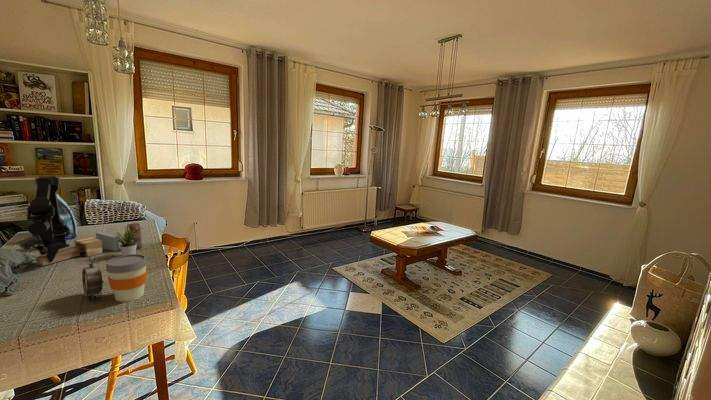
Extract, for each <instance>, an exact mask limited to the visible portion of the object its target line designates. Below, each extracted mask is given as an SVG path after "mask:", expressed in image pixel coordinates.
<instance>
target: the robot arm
mask: <svg viewBox="0 0 711 400" xmlns="http://www.w3.org/2000/svg"><path fill="white" fill-rule="evenodd" d="M34 183H35V184H34V185H35V186H36V191H35V197H34V198H33V199H32V200H31V201H30V203H29V205H28V206H27V212H26V213H27V216H26V219H27V221H32V223H30V224H29V226H28V228H27V230H28V233H30V234H31V236H29V237H26V238H24V239H21V240H19V241H18V242H17V245H18V246H19V247H20V248H21V249H22V250H26V251H27V250H29V249H31V248H32V249H35V250H37V251H38V253H39V255H44V254H46V255H47V258H48V260H49V262H52V261H53V260H54V258H55V256H56V254H57V252H58V251H59V250H63V249H66V247H67V248H68V247H70V246H71V245H70V244H68V243H67V238H66V236H68V235H70V230H69V227H68V226H67V225H66V224H65V221H64V220H63V219H61V218H60V213H59V206H58V200H57V191H58V190H59V189H60V186H61V185H62V184H61V183H62V182H61V178H60V177H58V176H57V175H45V176H44V175H40V176H39V177H35V178H34ZM65 232H66V233H65Z"/></svg>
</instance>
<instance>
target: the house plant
mask: <svg viewBox="0 0 711 400" xmlns="http://www.w3.org/2000/svg"><path fill="white" fill-rule="evenodd" d="M137 228H138V227H137ZM137 228H135V229H134V231H133V232H132V231H131V233H130V229H129V227H128V229H127V227H125V226H123V229H124V233H123V235H122V234H121V233H120V232H119V231H118V230H117V231H116V230H113V229H112V231H113V232H114V233H115V235H116V236H118V240H116V241H119V243H121V244H119V250H120V252H121V256H123V255H130V254H137V250H136V246H137V243H134V242H135V241H136V240H137V239H138V238H137V237H135V236H134V235H136V234H137V233H138V232H137V231H138V230H139V229H138V230H137ZM141 229H142V230H143V227H142V228H141V227H140V230H141ZM136 230H137V231H136ZM142 230H141V231H140V232H143V231H142ZM135 231H136V232H137V233H136V232H135ZM135 233H136V234H135ZM134 237H135V238H137V239H136V240H135V241H134V239H135V238H134ZM140 237H141V239H142V238H143V236H142V235H141V236H140ZM133 238H134V239H133ZM116 241H115V242H116ZM133 241H134V242H133ZM132 242H133V243H132Z"/></svg>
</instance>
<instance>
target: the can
mask: <svg viewBox="0 0 711 400" xmlns="http://www.w3.org/2000/svg"><path fill="white" fill-rule="evenodd" d="M126 227H127V229H128V227H129V229H130V233H131V231H132V232H133V231H134V229H135V228H137V227H138V228H137V230H138V229H139V230H138V231H137V230H136V231H137V232H138V233H137V232H136V231H135V232H136V233H137V234H136V233H135V234H136V235H134V236H135V237H137V238H138V239H137V238H135V237H134V238H135V239H134V238H133V239H134V241H135V240H136V239H137V240H136V241H135V242H134V241H133V242H134V243H137V246H136V251H137V250H140V249H141V248H142V246H143V244H142V238H141V237H142V233H141V232H140V231H142V230H141V229H140V228H141V225H140V223H134V222H133V223H129V224H126ZM126 227H125V228H126ZM140 236H141V237H140ZM133 242H132V243H133Z"/></svg>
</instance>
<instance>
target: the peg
mask: <svg viewBox="0 0 711 400" xmlns="http://www.w3.org/2000/svg"><path fill="white" fill-rule="evenodd" d="M79 256H81V253H80V249H79V248H78V247H75V246H72V247H67V248H62V249H59V250H58V252H57V254H56V256H55V258H54V260H53V261H52V262H49V260H48V258H47V255H46V254H44V255H41V254H39V255H38V256H37V255H36V257H35V259H36V265H37V266H41V267H45V266H48V265H51V264H56V263H58V262H61V261H64V260H68V259H69V260H70V259H73V258H77V257H79Z"/></svg>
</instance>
